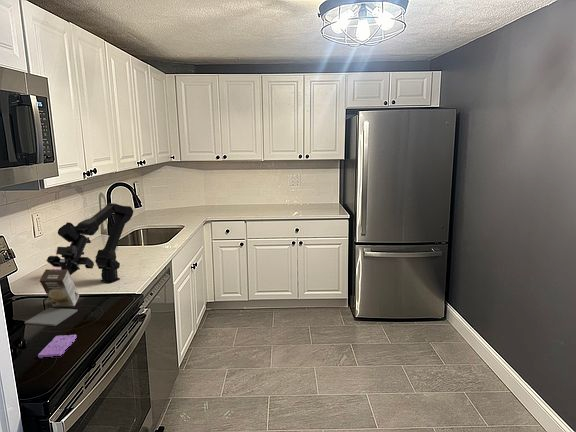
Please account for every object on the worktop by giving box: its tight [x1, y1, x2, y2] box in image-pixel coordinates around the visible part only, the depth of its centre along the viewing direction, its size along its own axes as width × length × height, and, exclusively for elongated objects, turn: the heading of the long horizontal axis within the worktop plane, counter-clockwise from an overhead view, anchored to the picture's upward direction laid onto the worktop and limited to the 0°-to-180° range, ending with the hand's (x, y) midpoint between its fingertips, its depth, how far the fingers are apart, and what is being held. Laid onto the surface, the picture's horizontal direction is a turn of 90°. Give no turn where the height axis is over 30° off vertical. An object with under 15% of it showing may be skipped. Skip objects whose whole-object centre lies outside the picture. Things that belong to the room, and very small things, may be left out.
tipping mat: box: [24, 307, 78, 327], centre depth 163 cm, size 13×13×1 cm
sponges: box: [37, 334, 77, 359], centre depth 140 cm, size 7×13×2 cm, turn 4°
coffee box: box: [39, 269, 80, 308], centre depth 170 cm, size 9×6×16 cm
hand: (62, 280), depth 172 cm, fingers closed
